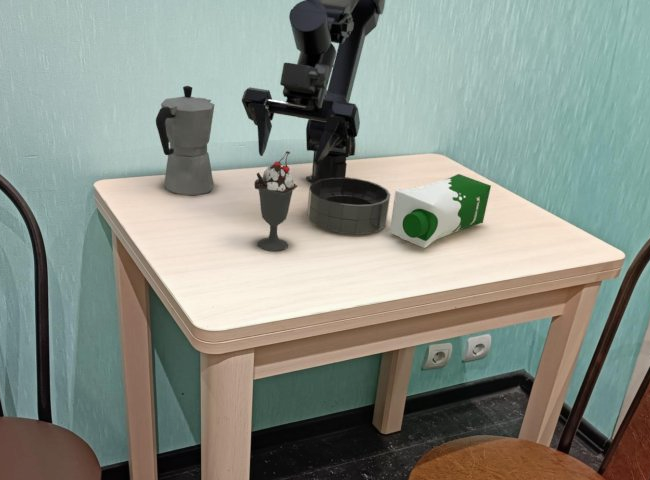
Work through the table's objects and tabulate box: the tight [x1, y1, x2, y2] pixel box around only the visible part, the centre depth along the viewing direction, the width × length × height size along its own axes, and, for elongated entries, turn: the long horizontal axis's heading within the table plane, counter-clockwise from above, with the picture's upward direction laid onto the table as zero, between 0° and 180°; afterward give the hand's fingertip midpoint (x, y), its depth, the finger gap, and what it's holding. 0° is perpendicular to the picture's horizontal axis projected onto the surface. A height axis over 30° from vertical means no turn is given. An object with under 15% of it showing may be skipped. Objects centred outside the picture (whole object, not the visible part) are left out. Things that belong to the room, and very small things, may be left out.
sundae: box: [253, 151, 298, 252], centre depth 119 cm, size 7×7×15 cm
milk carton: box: [389, 173, 492, 249], centre depth 131 cm, size 9×9×20 cm
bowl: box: [306, 176, 391, 235], centre depth 133 cm, size 14×14×6 cm
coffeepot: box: [155, 85, 215, 196], centre depth 136 cm, size 15×9×18 cm, turn 153°
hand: (287, 159), depth 121 cm, fingers open, 9 cm apart
